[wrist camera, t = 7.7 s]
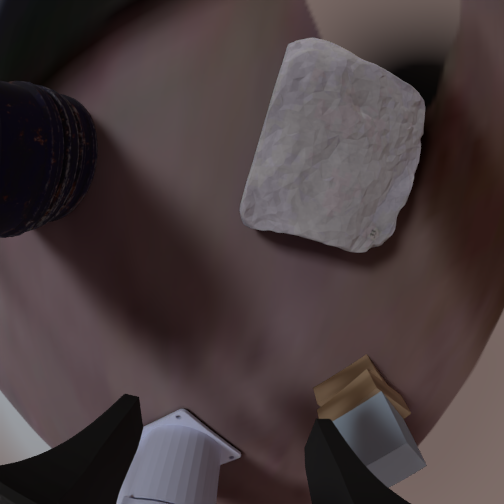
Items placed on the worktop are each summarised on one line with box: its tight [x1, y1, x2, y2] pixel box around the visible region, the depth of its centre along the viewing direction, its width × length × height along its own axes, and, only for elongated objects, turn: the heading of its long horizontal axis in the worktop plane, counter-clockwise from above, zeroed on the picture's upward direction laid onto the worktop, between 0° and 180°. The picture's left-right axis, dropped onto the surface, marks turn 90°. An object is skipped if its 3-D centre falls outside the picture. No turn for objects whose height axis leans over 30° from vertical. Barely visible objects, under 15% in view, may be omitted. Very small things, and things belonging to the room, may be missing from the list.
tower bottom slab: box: [313, 354, 387, 407], centre depth 22 cm, size 5×5×2 cm
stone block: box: [240, 38, 425, 253], centre depth 17 cm, size 12×5×10 cm
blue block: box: [332, 391, 426, 488], centre depth 16 cm, size 4×4×5 cm
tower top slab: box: [317, 369, 411, 421], centre depth 20 cm, size 5×5×2 cm
